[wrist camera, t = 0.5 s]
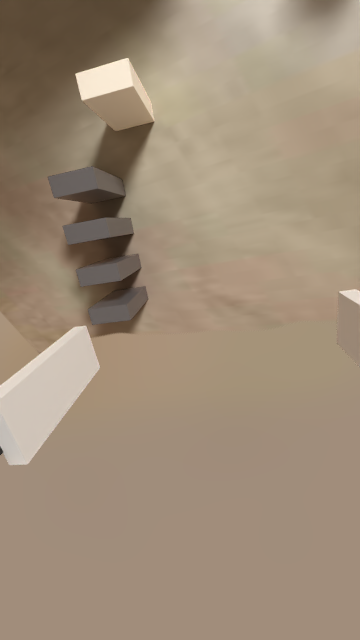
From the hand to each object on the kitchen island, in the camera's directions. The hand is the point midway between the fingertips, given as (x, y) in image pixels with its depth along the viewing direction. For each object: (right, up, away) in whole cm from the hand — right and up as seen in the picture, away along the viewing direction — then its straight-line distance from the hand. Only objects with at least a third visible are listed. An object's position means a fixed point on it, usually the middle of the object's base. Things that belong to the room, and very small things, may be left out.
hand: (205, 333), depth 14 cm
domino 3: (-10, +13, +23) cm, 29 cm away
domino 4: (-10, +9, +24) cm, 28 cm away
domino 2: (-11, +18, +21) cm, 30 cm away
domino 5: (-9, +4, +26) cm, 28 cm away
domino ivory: (-7, +25, +18) cm, 32 cm away
